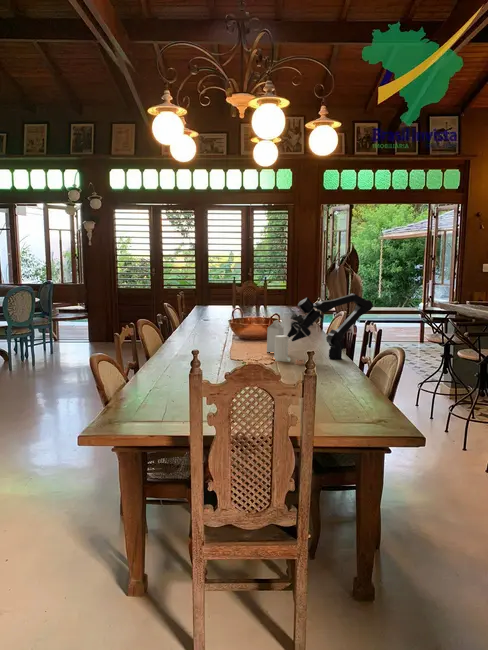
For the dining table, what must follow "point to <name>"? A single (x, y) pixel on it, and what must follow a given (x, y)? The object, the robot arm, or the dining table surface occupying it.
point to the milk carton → (273, 335)
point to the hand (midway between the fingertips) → (289, 339)
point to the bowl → (299, 361)
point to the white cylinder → (281, 347)
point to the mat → (285, 360)
